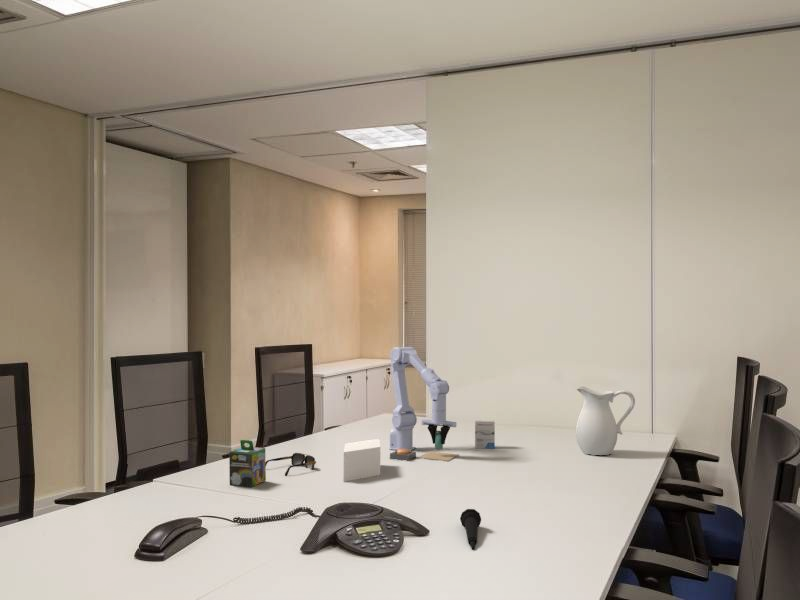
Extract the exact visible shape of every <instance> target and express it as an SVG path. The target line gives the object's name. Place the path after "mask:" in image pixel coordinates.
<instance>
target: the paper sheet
mask: <svg viewBox="0 0 800 600" xmlns="http://www.w3.org/2000/svg"><path fill="white" fill-rule="evenodd" d="M458 455H459V456H460V454H459V453H450V452H449V453H448V452H438V451H437V452H436V451H428V452H426V453H424V454H422V455H419V456H417V459H420V458H424V459H423V460H430V459H433V460H432V461H439V460H443V461H442V462H450V461H452V460H453V459H455V458H457V457H458ZM456 456H457V457H456ZM451 459H452V460H451ZM449 460H450V461H449Z"/></svg>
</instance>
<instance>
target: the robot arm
mask: <svg viewBox="0 0 800 600" xmlns="http://www.w3.org/2000/svg"><path fill="white" fill-rule="evenodd" d="M389 356H390V362H391V366H390V367H391V375H392V383H393V389H394V397H395V404H396V407H395V408H394V410H392V419H391V420H392V421H391V423H392V426H393V427H392V428H391V429H390V433H389V448H388V450H394V451H397V449H409V451H412V450H413V451H414V449H417V447H416V446H413V445H414V444H413V438H414V437H413V432H414V431H413V430H414V429H415V426H416V424H417V421H418V419H417V418H418V417H417V416H416V414H415V409H414V408H413V407H412V406H411V405H410V402H409V395H408V394H409V393H408V389H407V381H406V375H405V369H406V367H407V366H408V365H410V364H411V366H412V367H414V369H416V371H417V372H418V373H420V378H421V380H422V381H423V382H424V384H425V385H427V386H428V390H429V393H430V397H431V419H422V420H421V425H422V426H427V430H428V432H429V434H430V436H431V437H430V438H431V442H432V444H434V445H435V431H438V430H437V429H438V427H440V431H441V444H443V445H445V444H446V439H447V435H448V433H449V431H450V429H451V428H456V427H457V422H456V421H451V420H450V421H449V420H447V394H448V393H449V392H450V385H449V383H448V381H447V380H444V379H442V378H440V377H439V376H438V374H437V373H435V370H434V369H433V368H428V367H427V366H426V365H425V363H424V362H423V361H422V360H421V358H420V356H418V351H417V350H415V348H414V347H413V346H402V347H398V346H395V347H393V348H392V350H391V351H390V353H389Z"/></svg>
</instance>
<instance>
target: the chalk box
mask: <svg viewBox="0 0 800 600" xmlns="http://www.w3.org/2000/svg"><path fill="white" fill-rule="evenodd" d="M239 443H240V447H238V448H235V449H233V450H230V451H229V457H228V458H229V459H228V461H229V467H228V469H229V485H230V486H239V487H240V486H241V487H246V488H253V487H255V486H257V485H259V484H261V483H264V482H265V481H267V477H266V474H267V472H266V471H267V470H266V467H267V465H266V463H265V462H266V447H255V446H254V443H253V440H249V439H240V441H239ZM245 444H248V445H249V446H245Z"/></svg>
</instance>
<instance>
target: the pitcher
mask: <svg viewBox="0 0 800 600" xmlns="http://www.w3.org/2000/svg"><path fill="white" fill-rule="evenodd" d="M576 390H577V392H579V393H580V394H581V395H582V397H583V404H582V405H583V406H582V408H581V410H580V413H579V415H578V417H577V421H576V426H575V438H576V443H577V444H578V447H579V449H580V451H581V452H582V453H583V454H584V453H585V454H584V455H587V454H591V455H590V456H592V455H607V456H610V455H611V454H612V452H614V449H615V447H616V444H617V442H618V434H619V435H623V432H622V430H621V427H622V424H623V422H624V421H625V420H626V419H627V417H628V416H629V415H630V414H631V412H632V411H633V410H634V407H635V405H636V398H635V395H634V394H633V393H632V392H631V391H629V390H626V389H621V390H618V391H616V392H615V391H611V390H607V391H596V390H593V389H591V388H589V387H587V386H579V387H577V388H576ZM619 395H626V396H628V397H629V398H630V405H629V407H628V409H627V411H626V412H625V413H624V414H623V415H622V417H621V418H620V419H619V421H618V422H617V423H616V419H615V416H614V414H613V412H612V409H611V405H610V403H611V404H612V403H614V398H616V397H617V396H619ZM609 454H610V455H609Z"/></svg>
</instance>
